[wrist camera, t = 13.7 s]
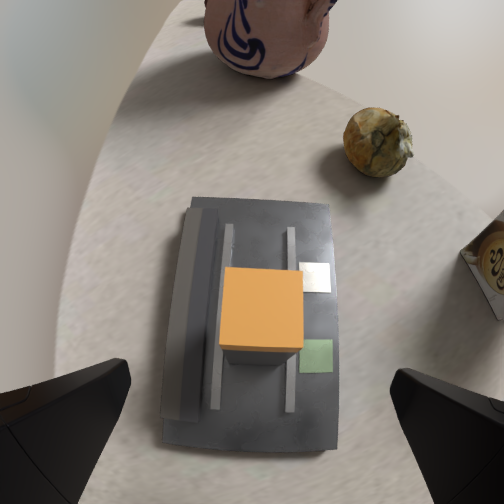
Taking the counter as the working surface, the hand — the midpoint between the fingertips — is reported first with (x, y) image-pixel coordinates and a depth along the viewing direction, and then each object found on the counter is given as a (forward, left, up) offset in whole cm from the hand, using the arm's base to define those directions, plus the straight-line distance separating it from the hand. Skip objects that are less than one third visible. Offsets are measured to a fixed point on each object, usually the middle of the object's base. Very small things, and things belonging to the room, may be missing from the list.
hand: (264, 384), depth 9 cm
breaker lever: (+3, +1, -11) cm, 12 cm away
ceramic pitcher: (+39, +17, -13) cm, 44 cm away
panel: (+5, +2, -13) cm, 14 cm away
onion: (+26, -1, -13) cm, 29 cm away
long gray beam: (+3, +7, -11) cm, 13 cm away
